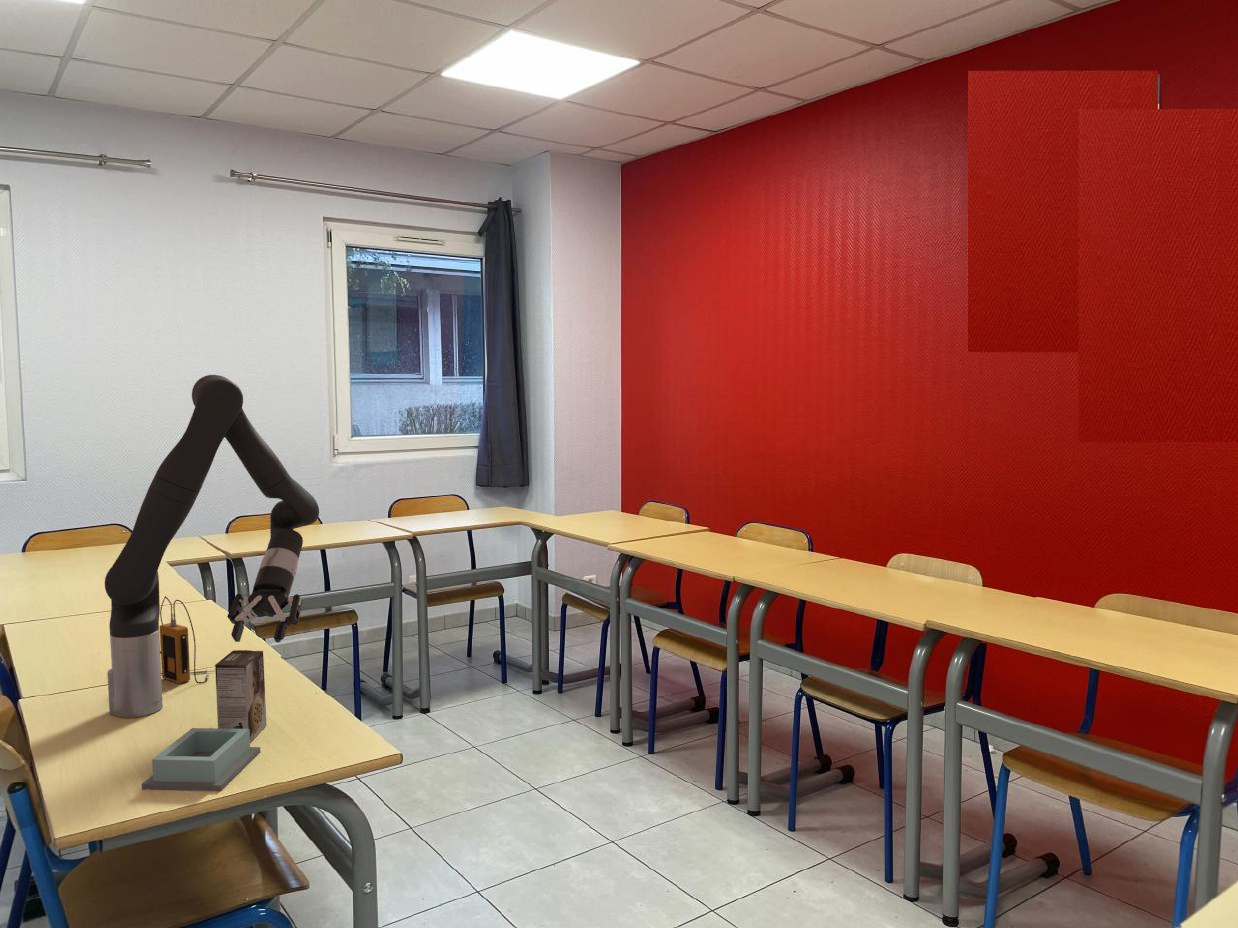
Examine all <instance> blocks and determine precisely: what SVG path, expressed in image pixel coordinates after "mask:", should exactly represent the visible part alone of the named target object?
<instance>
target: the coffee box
mask: <svg viewBox="0 0 1238 928" xmlns="http://www.w3.org/2000/svg"><path fill="white" fill-rule="evenodd" d="M264 659H265V658H264V651H263V650H250V649H249V650H247V649H245V650H243V649H239V650H238V649H234V650H232V651H230V652H229V653H228V654H227V655H226V656H225V657H223V658H221V660H219V661H218V662H217V663H215V665H214V667H215V668H214V669H215V670H214V672H215V691H216V712H217V716H216V717H217V728H222V729H249V731H250V744H251V743H252V742H253V741H254V740H255V739H256V737H258V736H259V734H261V732H262V731H263V730H264V729H265V728H266V727H267V709H266V707H267V706H266V685H265V684H266V683H265V681H266V680H265V662H264Z"/></svg>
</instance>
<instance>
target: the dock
mask: <svg viewBox="0 0 1238 928" xmlns="http://www.w3.org/2000/svg"><path fill="white" fill-rule="evenodd" d="M260 753H261V747H258V746H251V743H250V731H249V729H222V728H218V727H217V728H215V727H213V728H212V727H210V728H209V727H208V728H207V727H203V728H202V727H192V728H191V729H189V730H188V731H187V732H185V733H184V734H183V735H182V736H180V737H179V738H178V739H176V740H175V741H173V743H172V744H170V745H169V746H167V747H166V748H165V749H163V750H162V751H161V752H160V753H158V754H157V755H156V756H155V757H154V758H152V759H151V762H152V775H150V777H148V778H147V779H146V780H144V781H143V782H141V790H145V789H150V790H151V791H153V790H154V791H157V790H158V791H198V792H199V791H200V792H201V791H206V792H207V791H209V792H211V791H212V792H221V791H223V790H224V789H225V788H226V787H227V786H228V785H230V783H231V782H232V781H233V780H234V779H235V778H236V777H237V776H238V775H239V774H240V773H241V772H242V771H243V770H244V769H245V768H246V767H248V765H249V764H250V763H251V762H252V761H253V760H254V759H255V758H257V756H258V755H259V754H260Z"/></svg>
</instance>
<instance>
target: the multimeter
mask: <svg viewBox="0 0 1238 928" xmlns="http://www.w3.org/2000/svg"><path fill="white" fill-rule="evenodd" d="M165 600H167V601H168V603H169V604H170V622H168V623H164V624H163V620H162V610H163V606H164V603H165ZM176 602H180V603H181V604H182V605H183V607H184V610H185V612H186V614H187V617H188V620H189V623H190V627H191V631H192V636H193V645H194V647H193V648H194V650H193V651H194V653H193V654H194V655H193V656H194V657H193V659H194V660H193V661H194V662H193V672H191V671H190V669H191V668H190V647H189V646H190V643H189V628H188V627H187V626H184V625H180V624H177V619H176V609H175V606H176ZM159 618H160V622H161V625H160V624H159V638H160V658H161V679H163V680H168V681H170V682H173V683H176V684H177V685H178V684H179V685H180V684H184V683H186V682H189V681H190V680H191V674H194V675H193V676H194V680H195V683H196V684H204V683H206V682H208V680H209V677H210V674H209V673H210V672H213V670H208V669H207V670H197V671H196V656H197V655H196V648H197V646H196V637H195V633H194V632H195V631H194V627H193V623H192V620H191V616H190V614H189V612H188V609H187V607H186V605H185V604H184V603H183V602H182V601H181V600H179V599H175V600H174V601H173V605H172V602H171V601H170V599H169V598H168V597H167V596H164V597H163V599H162V602H161V605H160V614H159ZM206 673H207V674H206ZM196 674H206V677H205V680H204V681H200V682H199V681H198V680H197V677H196Z"/></svg>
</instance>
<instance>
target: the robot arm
mask: <svg viewBox="0 0 1238 928" xmlns="http://www.w3.org/2000/svg"><path fill="white" fill-rule="evenodd" d="M191 399H192V400H191V401H192V404H193V405H194V409H193V412H192V415H191V417H190V419H189V422H188V425H187V428H186V429H185V432H184V433H183V434H182V436H181V438H180V439H179V441H178V442H177V443H176V444H175V445H174V447H173V448H172V449H171V450H170V452H169V453H168V454H167V456H166V457H165V458H164V459H163V460H162V462H161V464H160V465H159V467H158V468H157V470H156V472H155V475H154V476H153V478H152V481H151V483H150V485H149V486H148V489H147V491H146V494H145V496H144V498H143V501H142V503H141V506H140V508H139V512H138V513H137V516H136V520H135V523H134V526H133V529H132V531H131V533H130V536H129V537H128V539H127V541H126V543H125V545H124V546H123V548H122V550H121V551H120V553H119V554H118V556H117V558H116V559H115V561H114V563H113V564H112V566H111V567H110V568H109V569H108V571H107V573H106V575H105V577H104V589H105V592H106V595H107V596H108V598H109V599H110V601H111V607H110V609H111V610H110V618H109V623H108V624H109V639H110V640H109V641H110V642H109V643H110V658H111V659H110V660H111V668H110V669H108V670H107V687H108V688H107V690H108V691H107V692H108V707H109V708H108V709H109V715H114V716H116V717H119V718H129V719H130V718H138V717H144V716H147V715H151V714H154V713H156V712H158V711H160V710H161V709H162V708H163V697H164V696H163V685H162V684H163V683H162V679H163V678H162V674H161V673H162V665H161V654H160V651H161V646H160V623H159V622H160V609H161V605H160V604H161V603H160V581H159V579H160V578H159V568H160V565H161V562H162V559H163V557H164V555H165V552H166V550H167V548H168V546H169V544H170V543H171V542H172V540H173V538H175V535H176V534H177V532H178V531H179V530H180V528H181V527H182V525H183V523H184V522H185V521H186V520H187V519H186V518H187V517H188V516H189V513H190V511H192V509H193V506H194V504H195V502H196V500H197V498H198V497H199V493H200V492H201V489H202V488H203V485H204V482H205V481H206V478H207V476H208V473H209V471H210V469H211V466H212V465H213V461H214V459H215V457H216V454H217V452H218V450H219V447H220V445H221V444H222V442H223V440H224V438H225V439H226V441H227V442H228V444H229V445H230V447H231V448H232V450H233V452H234V453H235V454H236V455H237V457H238V459H239V461H240V462H241V463H242V465H243V467H244V469H245V470H246V472H247V474H249V476H250V478H251V479H252V481H253V482H254V484H255V485H256V486H257V488H258V489H259V491H260V492H261V493H262V494H263V496H264V497H265V498H268V499H278V500H280V501H278V502H276V504H275V505H274V506H273V507H272V509H271V512H270V517H269V518H270V521H269V522H270V523H269V525H270V529H269V530H270V536H269V537H270V538H269V541H268V543H267V547H266V550H265V554H264V555H263V558H262V560H261V561H260V565H259V569H258V572H257V575H256V578H255V581H254V584H253V588H252V592H251V594H249V596H246V595H245V596H243V595H242V594H241V593H237V594H235V596H234V598H233V600H232V601H233V602H232V603H231V606H230V609H229V610H228V614H227V618H228V620H229V621H230V623H231V624H233V627H232V631H231V637H232V639H233V640H234V642H236V643H240V642H241V639H242V636H243V632H244V629H245V625H246V624H247V623H248V622H249V621H253V620H254V619H255V618H257V617H258V618H263V617H269V618H274V616H277V617H278V619H279V621H278V622H277V625H276V628H275V632H274V633H273V634H274V635H273V639H274V642H275V643H281V641H283V640H284V638H285V637H286V633H287V628H288V627H289V626H291V625H297V624H298V623H299V619H300V617H301V616H300V615H301V610H302V606H303V600H302V598H301V597H300V595H299V594H298V593H297V594H294V595H293V596H290V594H291V591H292V587H293V584H294V580H295V577H296V575H297V570H298V565H299V558H300V555H301V552H302V548H303V543H304V540H303V536H302V534H301V533H299V532H298V531H296V530H294V529H298V528H303V527H305V526H306V527H307V526H310V525H312V524H315V522H317V521H318V519H319V516H320V507H319V504H318V502H317V500H316V499H315V497H314V496H313V495H312V494H311V493H310V492H309V491H308V490H307V489H305V488H304V487H303V486H302V485H301V484H300V483H299V482H298V481H296V480H295V479H294V478H292V476H291V475H290V474H289V472H288V470H287V469H286V467H285V466H284V465H283V463H282V462H281V461H280V459H279V458H278V456H277V455H276V453H275V452H274V451H273V449H272V448H271V447H270V446H269V445H268V443H267V442H266V441H265V440H264V439H263V436H261V435H260V433H259V432H258V431H257V430H256V428H255V427H254V426H253V424H252V422H251V421H250V420H249V418H248V417H247V415H246V413H245V410H244V409H243V406H244V394H243V393H242V390H241V388H240V387H239V385H237V383H236V382H233V381H232V380H230V379H229V378H227V377H225V376H222V375H218V374H207V375H204V376H201V377H200V378H199V379H198V380H197V381H196V382H195V383H194V385H193V386H192V389H191ZM247 604H248V605H247ZM288 605H290V611H289V615H288V616H286V615H285V613H284V611H283V609H284V608H285V607H287V606H288ZM251 611H252V612H251Z"/></svg>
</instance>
